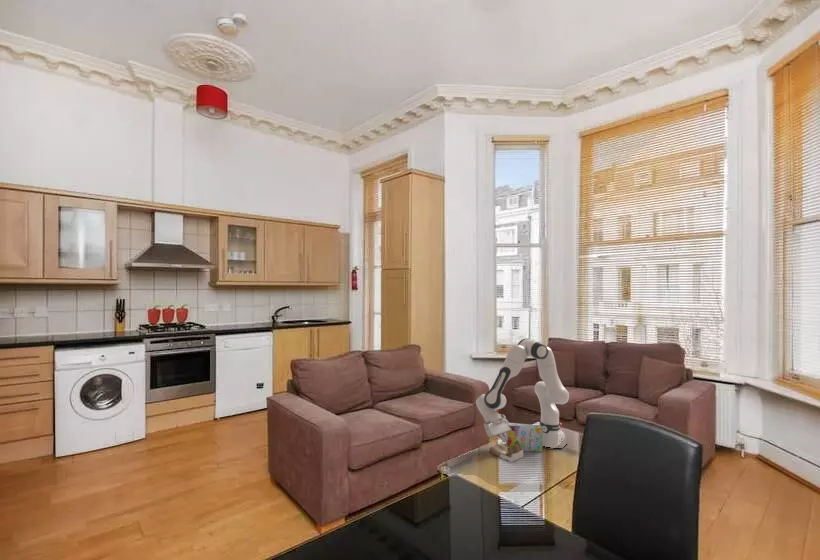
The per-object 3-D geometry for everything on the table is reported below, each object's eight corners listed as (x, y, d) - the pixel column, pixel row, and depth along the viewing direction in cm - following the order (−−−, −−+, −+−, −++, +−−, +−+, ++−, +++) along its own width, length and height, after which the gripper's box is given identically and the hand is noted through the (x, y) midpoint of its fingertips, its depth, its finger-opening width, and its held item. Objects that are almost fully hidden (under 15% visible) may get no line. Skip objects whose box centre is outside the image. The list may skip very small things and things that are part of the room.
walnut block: (510, 447, 244) (519, 442, 240) (514, 453, 242) (522, 449, 238) (506, 448, 241) (515, 444, 237) (510, 455, 240) (518, 451, 236)
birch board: (501, 448, 254) (501, 443, 254) (516, 454, 246) (516, 449, 246) (489, 452, 246) (489, 447, 246) (504, 458, 238) (504, 453, 238)
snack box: (539, 449, 256) (541, 424, 257) (542, 452, 251) (543, 427, 251) (505, 446, 258) (506, 422, 258) (506, 449, 252) (508, 425, 253)
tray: (511, 452, 248) (512, 445, 248) (523, 457, 242) (523, 450, 242) (499, 456, 240) (500, 450, 240) (511, 461, 234) (511, 454, 234)
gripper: (485, 420, 244) (498, 442, 236) (506, 414, 257) (518, 435, 250) (479, 425, 247) (491, 447, 239) (499, 419, 261) (512, 440, 253)
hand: (505, 441), depth 245 cm, fingers closed
